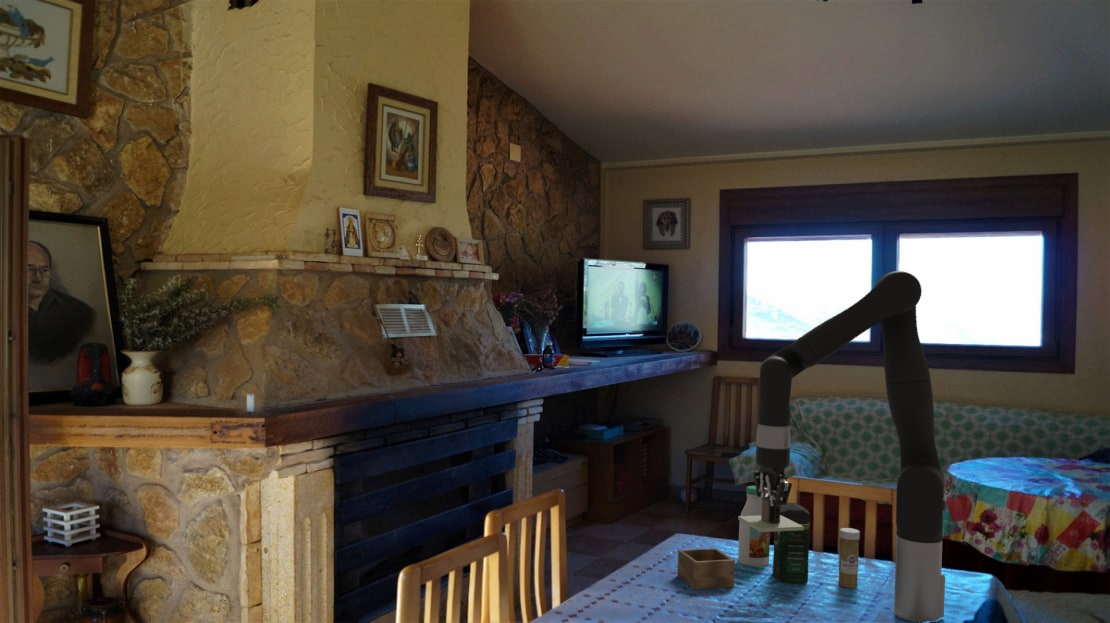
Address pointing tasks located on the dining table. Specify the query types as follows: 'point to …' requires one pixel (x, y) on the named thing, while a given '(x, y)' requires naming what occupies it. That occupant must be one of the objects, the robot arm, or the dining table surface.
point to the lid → (764, 523)
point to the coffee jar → (792, 547)
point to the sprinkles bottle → (848, 557)
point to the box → (706, 568)
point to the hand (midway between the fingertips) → (770, 519)
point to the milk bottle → (753, 534)
